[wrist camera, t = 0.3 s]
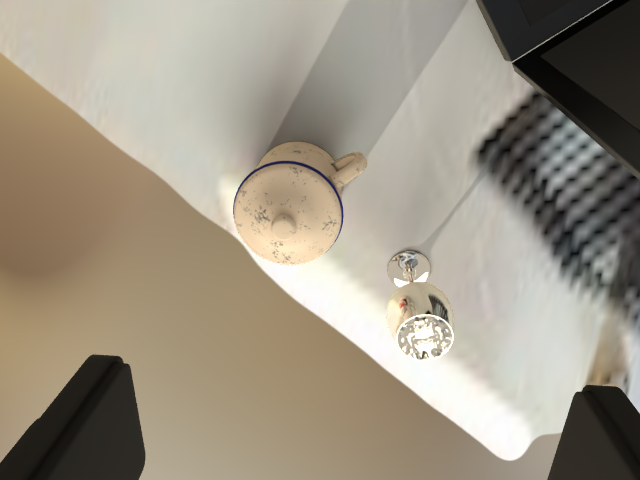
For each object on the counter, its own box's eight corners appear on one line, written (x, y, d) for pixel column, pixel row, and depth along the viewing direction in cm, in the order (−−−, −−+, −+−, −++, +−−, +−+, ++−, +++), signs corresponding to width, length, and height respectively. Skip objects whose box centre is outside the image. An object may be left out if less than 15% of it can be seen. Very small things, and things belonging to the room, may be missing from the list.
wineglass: (382, 244, 49) (391, 307, 38) (439, 246, 49) (464, 309, 38) (379, 292, 51) (387, 365, 40) (433, 294, 51) (456, 368, 40)
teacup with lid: (286, 241, 49) (268, 300, 39) (234, 169, 47) (199, 211, 36) (387, 183, 46) (398, 230, 36) (338, 102, 43) (334, 126, 33)
